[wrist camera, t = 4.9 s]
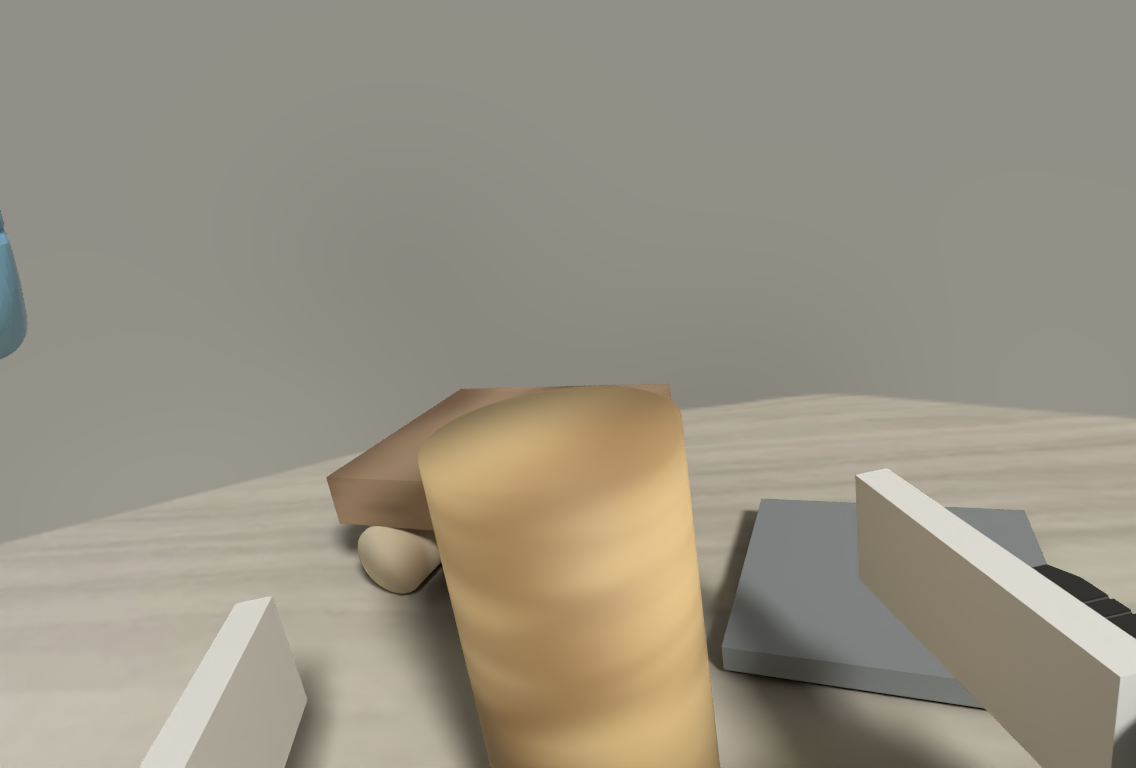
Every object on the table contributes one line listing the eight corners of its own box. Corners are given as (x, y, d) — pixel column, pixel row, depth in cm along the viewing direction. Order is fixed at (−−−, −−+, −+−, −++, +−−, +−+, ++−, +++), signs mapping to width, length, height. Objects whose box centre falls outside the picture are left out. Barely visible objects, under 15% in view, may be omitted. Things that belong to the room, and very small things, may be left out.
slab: (358, 588, 27) (326, 477, 26) (480, 476, 36) (460, 388, 34) (613, 620, 23) (591, 488, 21) (681, 484, 31) (669, 383, 30)
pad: (723, 669, 20) (721, 647, 20) (762, 516, 28) (761, 498, 27) (1101, 726, 16) (1103, 698, 16) (1023, 530, 24) (1024, 510, 24)
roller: (472, 900, 14) (360, 484, 12) (561, 723, 19) (496, 388, 16) (701, 979, 12) (637, 498, 10) (742, 760, 17) (705, 384, 14)
